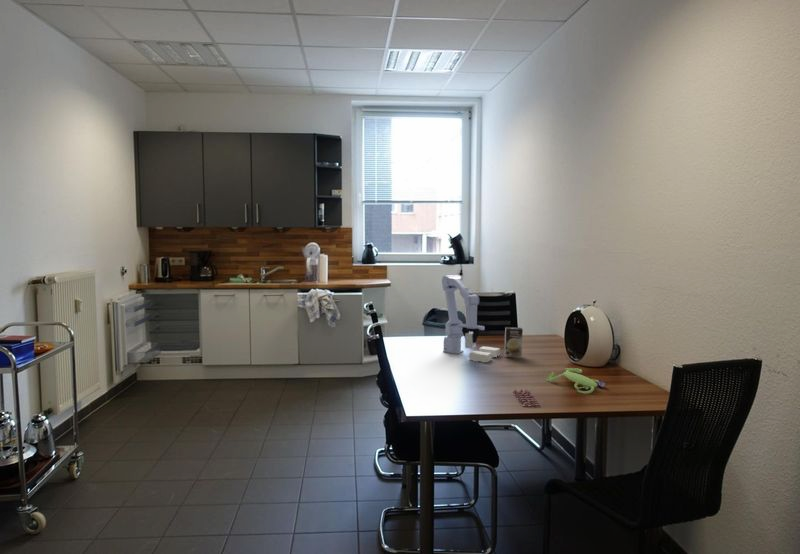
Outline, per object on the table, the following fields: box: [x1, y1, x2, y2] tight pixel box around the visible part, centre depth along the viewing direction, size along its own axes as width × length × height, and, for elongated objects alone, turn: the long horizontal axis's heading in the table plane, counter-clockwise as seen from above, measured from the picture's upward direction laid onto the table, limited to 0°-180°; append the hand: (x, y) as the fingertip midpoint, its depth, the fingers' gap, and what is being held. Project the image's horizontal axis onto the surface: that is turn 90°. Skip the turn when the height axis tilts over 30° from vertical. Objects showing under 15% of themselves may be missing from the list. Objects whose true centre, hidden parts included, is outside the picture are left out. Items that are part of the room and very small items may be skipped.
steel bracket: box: [464, 331, 477, 349], centre depth 297 cm, size 4×5×8 cm
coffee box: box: [503, 326, 524, 359], centre depth 305 cm, size 9×6×16 cm
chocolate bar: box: [512, 389, 541, 407], centre depth 229 cm, size 7×19×2 cm, turn 0°
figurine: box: [546, 367, 606, 395], centre depth 252 cm, size 18×27×6 cm
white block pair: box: [469, 346, 501, 363], centre depth 302 cm, size 10×20×4 cm, turn 150°
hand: (470, 342), depth 298 cm, fingers closed on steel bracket, 4 cm apart
